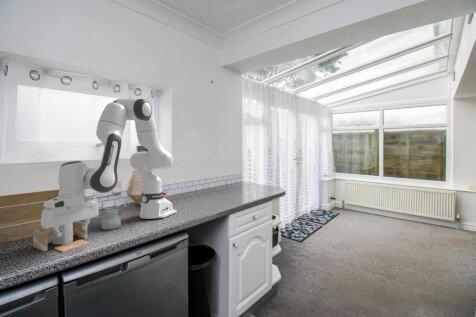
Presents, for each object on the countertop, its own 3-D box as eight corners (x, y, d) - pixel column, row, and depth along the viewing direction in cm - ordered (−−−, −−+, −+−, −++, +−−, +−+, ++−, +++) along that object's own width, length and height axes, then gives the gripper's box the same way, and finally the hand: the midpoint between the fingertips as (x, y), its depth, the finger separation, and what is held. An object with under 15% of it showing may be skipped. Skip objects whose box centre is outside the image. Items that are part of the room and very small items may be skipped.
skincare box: (73, 241, 100) (73, 214, 100) (64, 245, 96) (64, 217, 96) (61, 240, 101) (61, 214, 101) (52, 244, 97) (52, 216, 97)
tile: (80, 240, 100) (80, 239, 100) (89, 243, 97) (89, 242, 97) (54, 249, 92) (54, 247, 92) (63, 252, 88) (63, 250, 88)
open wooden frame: (75, 234, 108) (75, 220, 108) (87, 238, 103) (87, 223, 103) (33, 246, 94) (33, 230, 94) (44, 251, 89) (44, 234, 89)
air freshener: (103, 226, 121) (103, 208, 121) (121, 224, 124) (121, 206, 124) (100, 233, 111) (100, 212, 111) (119, 230, 114) (119, 211, 114)
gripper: (93, 195, 105) (93, 224, 105) (38, 203, 87) (39, 239, 87) (101, 196, 102) (101, 226, 102) (46, 205, 84) (46, 242, 84)
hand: (72, 232), depth 94 cm, fingers open, 8 cm apart
